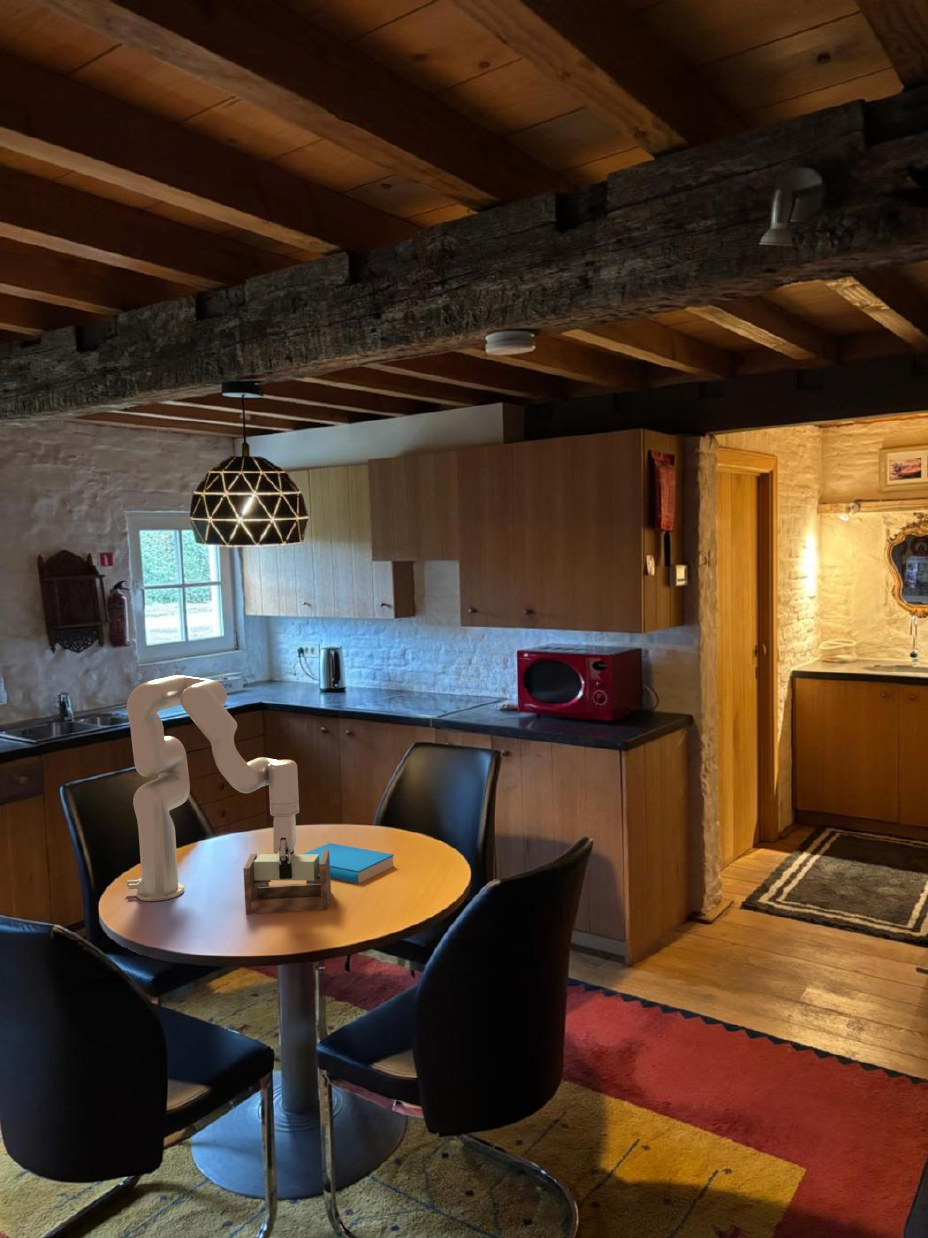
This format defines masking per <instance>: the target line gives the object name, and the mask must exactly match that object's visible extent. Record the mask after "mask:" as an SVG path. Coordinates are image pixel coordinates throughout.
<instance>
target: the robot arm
mask: <svg viewBox="0 0 928 1238" xmlns="http://www.w3.org/2000/svg"><path fill="white" fill-rule="evenodd" d="M227 700H228V693H227V691H226V688H225V687H224V686H223V684H222V683H221V682H219V681H217V680H214V679H208V678H201V677H193V676H187V675H178V674H176V675H171V676H166V677H162V678H156V679H153V680H149V681H146V682H144V683H141V684H140V685H138V686H136V687H135V688H133V690H132V691H131V692H130V694H129V696H128V699H127V701H126V711H127V712H126V713H127V717H128V722H129V728H130V737H131V745H132V746H131V747H132V754H133V762H134V767H135V770H136V772H137V774H139V776H142V777H144V778H151V777H155V776H158V778H154V779H152V780H150V781H147V782H145V783H144V784H142V785H140V786H139V787H138V788H137V790H136V791H135V792H134V795H133V801H132V802H133V803H132V806H133V809H134V813H135V817H136V820H137V829H138V841H139V856H140V871H141V872H140V873H141V874H140V875H141V877H140V878H138V879H127V880H126V888H128V890H135V889H137V891H136V897H137V899H138V900H141V901H145V902H159V901H164V900H169V899H173V898H175V897H178V896H180V895H181V894H183V893H184V891H185V885H184V884H183V883H182V882H181V883H180V882H179V874H178V872H179V871H178V860H177V859H178V858H177V857H178V856H177V839H176V828H175V824H174V821H173V819H172V817H171V814H170V811H171V810H173V809H176V808H178V807H179V806H182V805H183V804H184V803H186V802H187V800H188V798H189V796H190V792H191V790H190V788H191V787H190V786H191V785H190V775H189V767H188V758H187V757H188V756H187V752H186V749H185V747H184V745H183V743H182V741H180V739H178V738H176V737H175V736H172V735H165V734H164V733H165V732H164V729H165V728H164V725H163V721H162V719H161V716H160V715H159V714H158V712H160V711H163V710H167V709H171V708H174V707H178V706H181V707H182V708H183V710H184V712H186V714H187V716H188V717H189V718H190V719H191V720H192V721H193V722H194V724H195V725H196V727H197V728H198V729H199V730H200V731H201V733H202V734H203V735H204V736H205V737H206V738H207V740H208V741H209V742H210V745H211V752H212V756H213V760H214V762H215V765H216V767H217V769H218V771H219V773H220V774H221V775H222V776H223V777H224V778H225V780H226V781H227V782H228V783H229V785H230V786H231V787H232V788H234V789H235V790H236V791H238V792H239V793H242V794H250V793H253V792H255V791H256V790H257V791H258V790H259V789H260V788H262V787H263V788H264V787H265V786H268V792H269V794H268V795H269V810H270V811H269V813H270V816H272V817H273V825H272V826H273V828H272V829H273V854H277V853H278V854H279V878H280V879H291V878H292V864H291V863H290V854H295V846H296V843H297V841H296V840H297V827H296V825H297V824H296V815H297V814H299V813H300V803H299V802H300V801H299V800H300V799H299V797H300V796H299V779H298V778H299V777H298V776H299V775H298V773H299V772H298V764H297V762H295V760H292V759H274V758H269V757H264V756H263V757H257V758H254V759H252V760H250V761H247V762H246V760H245V759H244V758H243V757H242V756H241V755H240V753H239V751H238V750H237V748H236V745H235V733H236V731H237V729H238V724H237V721H236V719H235V718H233V716H232V715H231V713H229V711H228V710H227V708H225V707H224V706H225V704H226V703H227ZM286 854H288V857H287V856H286Z"/></svg>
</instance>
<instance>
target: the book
mask: <svg viewBox="0 0 928 1238" xmlns="http://www.w3.org/2000/svg"><path fill="white" fill-rule="evenodd" d="M323 850H329V858H330V879H335V880H341V881H347V882H351V883H356V884H360V883H362V882H364V881H366V880H368V879H370V878H372V877H374V876H376V875H378V874H380V873H383V872H385V871H386V870H388V869H390V868H392V867H394V856H395V855H394V854H393V853H390V852H389V853H387V852H384V851H383V852H382V851H377V850H371V849H366V848H360V847H356V846H355V847H354V846H349V845H343V844H337V843H332V842H328V843H326V844H323V845H322V846H319V847H316V848H314V849H312V850H310V851H307V852H304V853H303V854H319V866H320V861H321V857H322V854H323ZM318 875H320V873H319V874H318Z"/></svg>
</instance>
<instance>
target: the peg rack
mask: <svg viewBox="0 0 928 1238" xmlns="http://www.w3.org/2000/svg"><path fill="white" fill-rule="evenodd" d="M257 858H258V854H257V853H251V854H250V855H249V857H248V859H247V860H246V862H245V864H244V867H243V871H242V872H243V889H244V890H243V891H244V905H245V909H244V910H245V915H249V914H250V915H253V914H271V913H285V912H286V913H287V912H303V911H305V912H306V911H320V910H321V911H322V910H328V907H329V903H330V901H331V900H330V899H331V894H332V883H331V882H332V881H331V879H332V878H330V858H329V850H323V854H322V857H321V861H320V875H318V876H317V877H316V879H315V880H314V881H309V880H306V882H305V883H289V884H287V883H286V884H274V885H273V884H272V885H270V883H271V881H272V880H254V861H255V860H256V859H257Z"/></svg>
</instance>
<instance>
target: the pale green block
mask: <svg viewBox="0 0 928 1238" xmlns="http://www.w3.org/2000/svg"><path fill="white" fill-rule="evenodd" d="M286 856H287V857H288V854H286ZM290 863H291V864H292V878H291V879H280V878H279V853H278V854H277V853H276V854H275V853H273V854H272V853H269V854H267V853H266V854H265V853H263V854H262V853H261V854H259V855H258V856H257V859H256V860H255V861H254V880H271V881H307V880H309V881H314V880H315V879H316V877H317V876H318V874H319V873H320V866H319V854H304V853H303V854H302V853H300V854H299V853H298V854H297V853H294V854H290Z"/></svg>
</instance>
